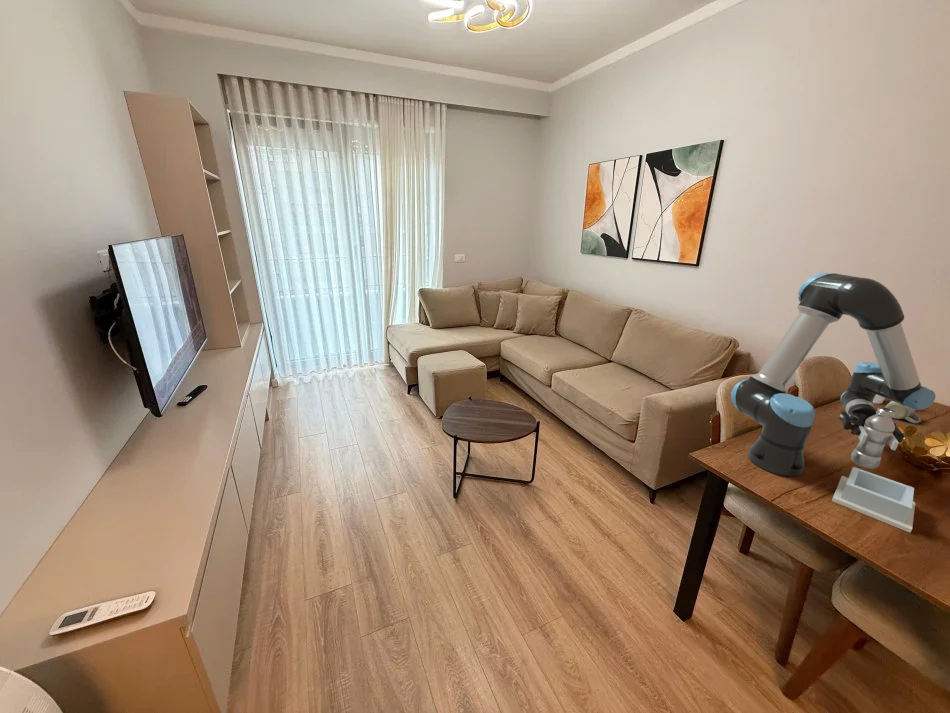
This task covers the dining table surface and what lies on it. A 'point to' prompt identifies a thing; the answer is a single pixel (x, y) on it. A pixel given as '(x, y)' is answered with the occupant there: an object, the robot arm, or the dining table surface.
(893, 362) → the robot arm
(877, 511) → the box
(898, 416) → the ceramic mug
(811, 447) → the dining table surface
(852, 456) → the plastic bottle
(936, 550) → the dining table surface
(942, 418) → the dining table surface
